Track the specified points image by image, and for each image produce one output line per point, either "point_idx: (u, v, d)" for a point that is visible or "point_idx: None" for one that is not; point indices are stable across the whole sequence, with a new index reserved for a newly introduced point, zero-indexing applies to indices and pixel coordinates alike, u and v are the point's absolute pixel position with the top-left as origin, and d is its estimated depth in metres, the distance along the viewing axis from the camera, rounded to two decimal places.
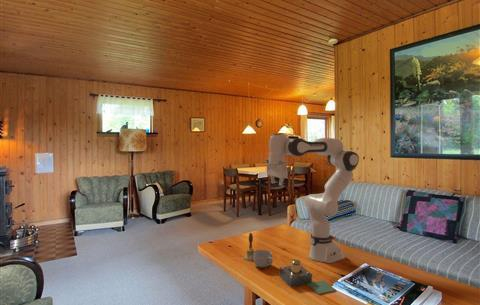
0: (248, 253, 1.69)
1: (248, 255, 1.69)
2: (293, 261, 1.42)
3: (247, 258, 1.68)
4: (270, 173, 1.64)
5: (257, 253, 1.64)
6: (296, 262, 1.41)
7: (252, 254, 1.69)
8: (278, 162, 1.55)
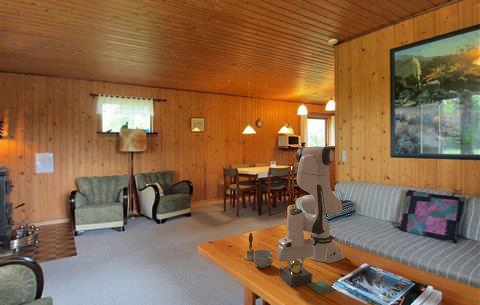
0: (248, 253, 1.69)
1: (248, 255, 1.69)
2: (293, 261, 1.42)
3: (247, 258, 1.68)
4: (289, 258, 1.39)
5: (257, 253, 1.64)
6: (296, 262, 1.41)
7: (252, 254, 1.69)
8: None
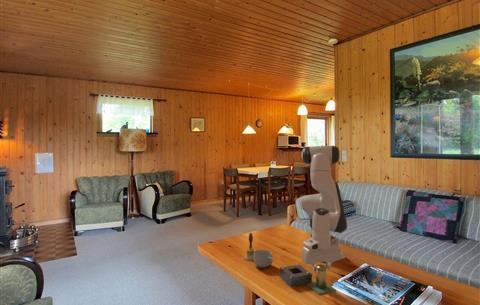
0: (248, 253, 1.69)
1: (248, 255, 1.69)
2: (319, 266, 1.35)
3: (247, 258, 1.68)
4: (315, 260, 1.31)
5: (257, 253, 1.64)
6: (322, 267, 1.34)
7: (252, 254, 1.69)
8: None
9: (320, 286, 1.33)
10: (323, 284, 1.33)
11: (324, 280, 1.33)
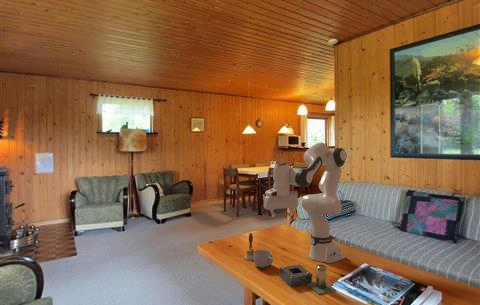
0: (248, 253, 1.69)
1: (248, 255, 1.69)
2: (319, 266, 1.35)
3: (247, 258, 1.68)
4: (275, 206, 1.49)
5: (257, 253, 1.64)
6: (322, 267, 1.34)
7: (252, 254, 1.69)
8: None
9: (321, 286, 1.33)
10: (323, 284, 1.33)
11: (324, 280, 1.33)
